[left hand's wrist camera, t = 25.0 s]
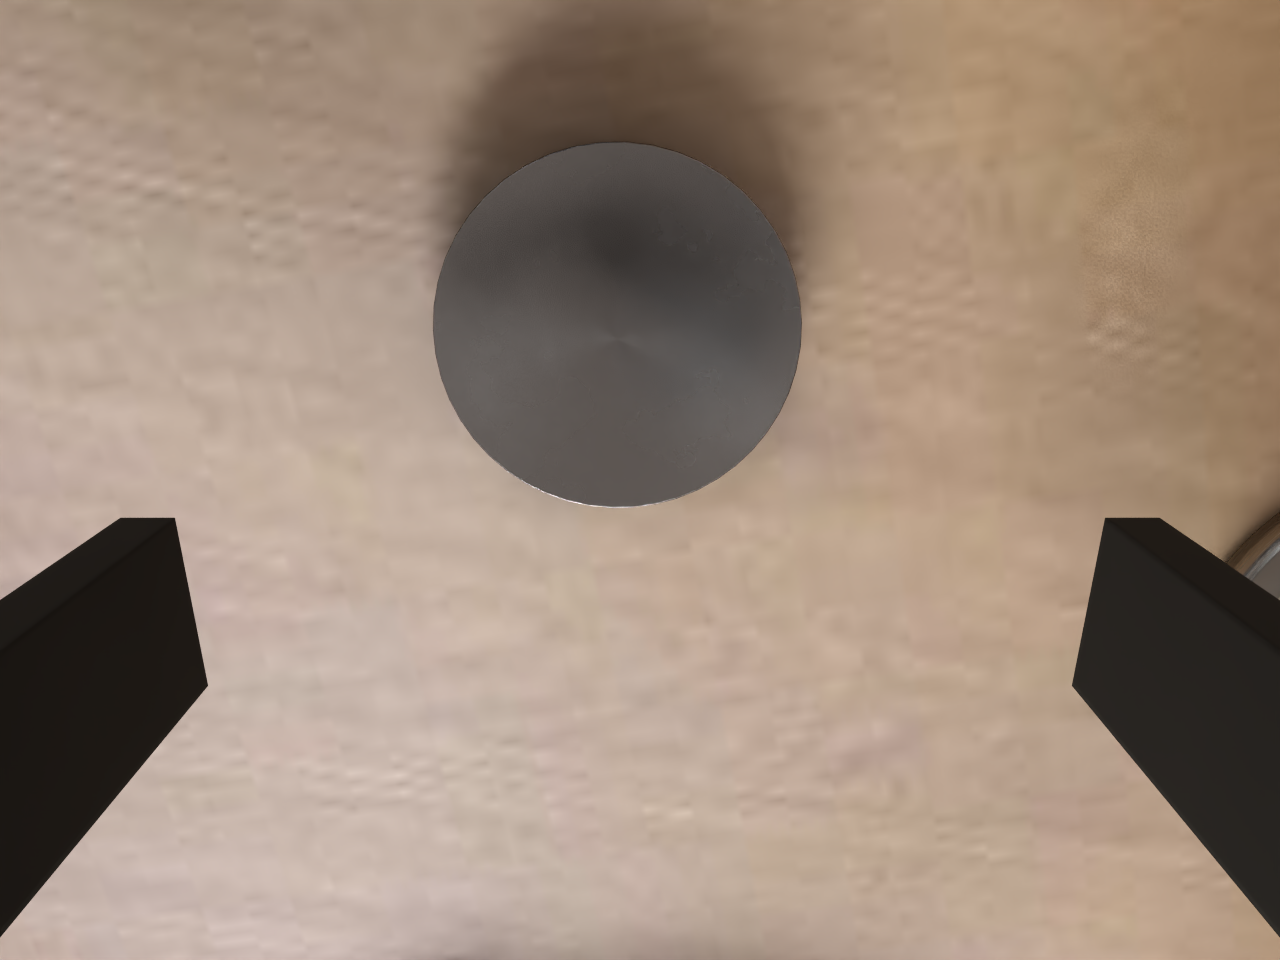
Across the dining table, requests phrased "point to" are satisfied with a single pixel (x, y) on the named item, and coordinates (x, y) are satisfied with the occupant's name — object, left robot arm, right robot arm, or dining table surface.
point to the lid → (617, 324)
